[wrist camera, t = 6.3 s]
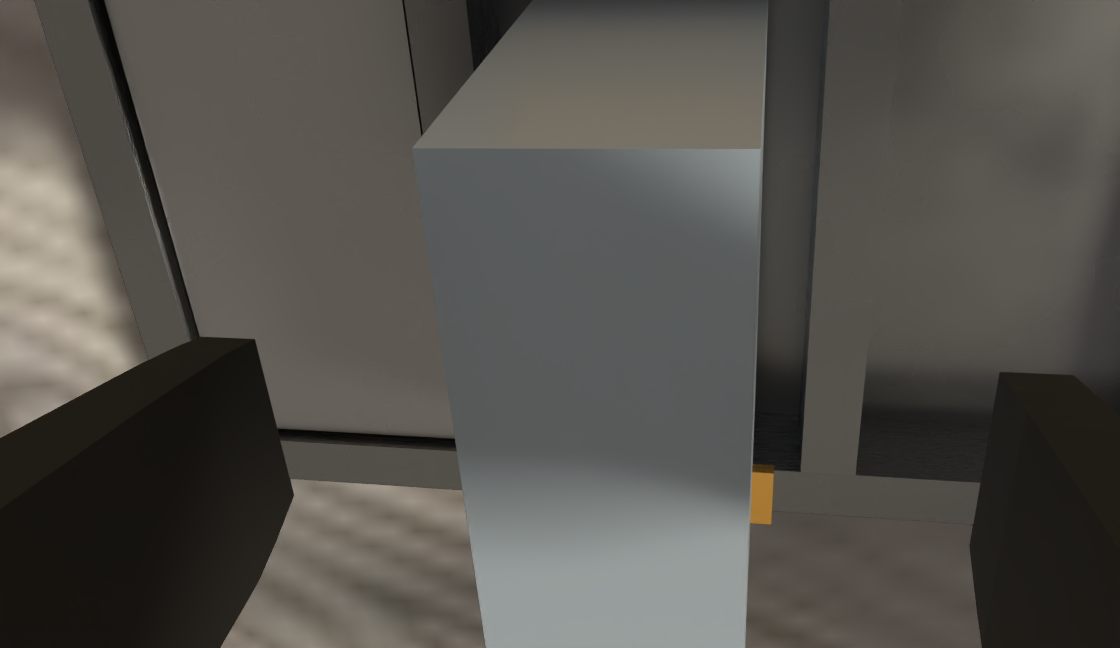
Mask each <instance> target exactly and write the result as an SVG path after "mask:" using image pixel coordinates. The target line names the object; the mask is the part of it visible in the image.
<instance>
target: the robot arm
mask: <svg viewBox="0 0 1120 648" xmlns="http://www.w3.org/2000/svg"><path fill="white" fill-rule="evenodd" d="M293 496H294V493H293V489H292V485H291V481H290V477H289V473H288V469H287V465H286V461H285V457H284V453H283V449H282V445H281V441H280V437H279V433H278V429H277V425H276V421H275V417H274V413H273V409H272V405H271V401H270V397H269V393H268V389H267V385H266V381H265V377H264V373H263V369H262V365H261V361H260V357H259V353H258V349H257V345H256V341H255V339H244V338H221V337H199V338H196V339H194V340H191V341H189V342H186V343H184V344H182V345H179V346H177V347H175V348H173V349H170V350H168V351H166V352H164V353H162V354H160V355H158V356H156V357H154V358H152V359H150V360H148V361H146V362H144V363H142V364H140V365H138V366H136V367H134V368H132V369H130V370H128V371H126V372H124V373H122V374H121V375H119V376H117V377H115V378H113V379H111V380H109V381H107V382H105V383H103V384H102V385H100V386H98V387H96V388H94V389H92V390H90V391H88V392H87V393H85V394H83V395H81V396H79V397H77V398H75V399H73V400H72V401H70V402H68V403H66V404H64V405H62V406H60V407H58V408H57V409H55V410H53V411H51V412H49V413H47V414H45V415H43V416H41V417H40V418H38V419H36V420H34V421H32V422H30V423H28V424H26V425H25V426H23V427H21V428H19V429H17V430H15V431H13V432H11V433H9V434H7V435H6V436H4V437H2V438H0V648H220V647H221V645H222V644H223V642H224V640H225V639H226V637H227V635H228V633H229V632H230V630H231V628H232V626H233V625H234V623H235V621H236V620H237V618H238V616H239V614H240V613H241V611H242V609H243V608H244V606H245V604H246V602H247V601H248V599H249V597H250V595H251V594H252V592H253V590H254V588H255V586H256V585H257V583H258V581H259V579H260V577H261V575H262V573H263V570H264V568H265V566H266V563H267V561H268V559H269V556H270V554H271V552H272V549H273V547H274V545H275V543H276V540H277V538H278V535H279V532H280V530H281V527H282V525H283V522H284V520H285V517H286V514H287V512H288V509H289V507H290V504H291V502H292V499H293ZM970 554H971V563H972V572H973V581H974V590H975V598H976V606H977V614H978V621H979V629H980V636H981V644H982V648H1120V417H1119V416H1118V415H1117V414H1116V413H1115V412H1114V411H1113V410H1112V409H1111V408H1110V407H1109V406H1108V405H1106V404H1105V403H1104V402H1103V401H1102V400H1101V399H1100V398H1099V397H1098V396H1097V395H1096V394H1095V393H1093V392H1092V391H1091V390H1090V389H1089V388H1088V387H1087V386H1086V385H1084V384H1083V383H1082V382H1081V381H1080V380H1079V379H1078V378H1076V377H1075V376H1074V375H1061V374H1038V373H1015V372H1000V373H999V379H998V384H997V390H996V396H995V402H994V408H993V413H992V419H991V425H990V431H989V436H988V442H987V448H986V454H985V460H984V465H983V471H982V477H981V483H980V488H979V494H978V500H977V506H976V512H975V517H974V523H973V529H972V535H971V540H970Z"/></svg>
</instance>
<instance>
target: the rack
mask: <svg viewBox="0 0 1120 648" xmlns="http://www.w3.org/2000/svg"><path fill="white" fill-rule="evenodd" d="M34 1H35V4H36V7H37V10H38V13H39V17H40V20H41V23H42V26H43V29H44V32H45V35H46V39H47V42H48V45H49V48H50V51H51V54H52V57H53V61H54V64H55V67H56V70H57V73H58V76H59V79H60V83H61V86H62V89H63V92H64V95H65V98H66V101H67V105H68V108H69V111H70V114H71V117H72V120H73V123H74V127H75V130H76V133H77V136H78V139H79V142H80V146H81V149H82V152H83V155H84V158H85V161H86V164H87V168H88V171H89V174H90V177H91V180H92V183H93V186H94V190H95V193H96V196H97V199H98V202H99V205H100V208H101V212H102V215H103V218H104V221H105V224H106V227H107V230H108V234H109V237H110V240H111V243H112V246H113V249H114V252H115V256H116V259H117V262H118V265H119V268H120V271H121V274H122V278H123V281H124V284H125V287H126V290H127V293H128V296H129V300H130V303H131V306H132V309H133V312H134V315H135V319H136V322H137V325H138V328H139V331H140V334H141V337H142V341H143V344H144V347H145V350H146V353H147V356H148V359H149V360H150V359H152V358H154V357H156V356H158V355H160V354H162V353H164V352H166V351H168V350H170V349H173V348H175V347H177V346H179V345H182V344H184V343H186V342H189V341H191V340H194V339H196V338H199V337H221V338H244V339H255V341H256V345H257V349H258V353H259V357H260V361H261V365H262V369H263V373H264V377H265V381H266V385H267V389H268V393H269V397H270V401H271V405H272V409H273V413H274V417H275V421H276V425H277V429H278V433H279V437H280V441H281V445H282V449H283V453H284V457H285V461H286V465H287V469H288V473H289V477H290V479H304V480H318V481H333V482H348V483H363V484H378V485H393V486H408V487H422V488H437V489H452V490H462V483H461V476H460V470H459V463H458V456H457V449H456V443H455V436H454V429H453V422H452V416H451V409H450V402H449V395H448V389H447V382H446V375H445V368H444V362H443V355H442V348H441V341H440V335H439V328H438V321H437V314H436V307H435V301H434V294H433V287H432V280H431V274H430V267H429V260H428V253H427V247H426V240H425V233H424V226H423V220H422V213H421V206H420V199H419V193H418V186H417V179H416V172H415V166H414V159H413V152H412V148H413V146H414V145H415V144H416V143H417V141H418V140H419V139H420V138H421V137H422V135H423V134H424V133H425V132H426V130H427V129H428V128H429V127H430V125H431V124H432V123H433V122H434V121H435V119H436V118H437V117H438V116H439V114H440V113H441V112H442V111H443V110H444V108H445V107H446V106H447V105H448V103H449V102H450V101H451V100H452V99H453V97H454V96H455V95H456V94H457V92H458V91H459V90H460V89H461V87H462V86H463V85H464V84H465V83H466V81H467V80H468V79H469V78H470V76H471V75H472V74H473V73H474V72H475V70H476V69H477V68H478V67H479V65H480V64H481V63H482V62H483V60H484V59H485V58H486V57H487V56H488V54H489V53H490V52H491V51H492V49H493V48H494V47H495V46H496V45H497V43H498V42H499V41H500V40H501V38H502V37H503V36H504V35H505V33H506V32H507V31H508V30H509V29H510V27H511V26H512V25H513V24H514V22H515V21H516V20H517V19H518V18H519V16H520V15H521V14H522V13H523V11H524V10H525V9H526V8H527V6H528V5H529V4H530V3H531V2H532V0H34ZM1000 372H1015V373H1038V374H1061V375H1074V376H1075V377H1076V378H1078V379H1079V380H1080V381H1081V382H1082V383H1083V384H1084V385H1086V386H1087V387H1088V388H1089V389H1090V390H1091V391H1092V392H1093V393H1095V394H1096V395H1097V396H1098V397H1099V398H1100V399H1101V400H1102V401H1103V402H1104V403H1105V404H1106V405H1108V406H1109V407H1110V408H1111V409H1112V410H1113V411H1114V412H1115V413H1116V414H1117V415H1118V416H1119V417H1120V0H768V28H767V58H766V89H765V119H764V150H763V180H762V211H761V241H760V271H759V302H758V332H757V363H756V392H755V417H754V441H753V466H752V491H751V516H750V523H756V524H771V520H772V511H779V512H794V513H809V514H824V515H839V516H853V517H868V518H883V519H898V520H913V521H928V522H943V523H957V524H972V525H973V523H974V517H975V512H976V506H977V500H978V494H979V488H980V483H981V477H982V471H983V465H984V460H985V454H986V448H987V442H988V436H989V431H990V425H991V419H992V413H993V408H994V402H995V396H996V390H997V384H998V379H999V373H1000Z"/></svg>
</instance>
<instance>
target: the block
mask: <svg viewBox="0 0 1120 648" xmlns="http://www.w3.org/2000/svg"><path fill="white" fill-rule="evenodd" d="M767 28H768V0H532V2H531V3H530V4H529V5H528V6H527V8H526V9H525V10H524V11H523V13H522V14H521V15H520V16H519V18H518V19H517V20H516V21H515V22H514V24H513V25H512V26H511V27H510V29H509V30H508V31H507V32H506V33H505V35H504V36H503V37H502V38H501V40H500V41H499V42H498V43H497V45H496V46H495V47H494V48H493V49H492V51H491V52H490V53H489V54H488V56H487V57H486V58H485V59H484V60H483V62H482V63H481V64H480V65H479V67H478V68H477V69H476V70H475V72H474V73H473V74H472V75H471V76H470V78H469V79H468V80H467V81H466V83H465V84H464V85H463V86H462V87H461V89H460V90H459V91H458V92H457V94H456V95H455V96H454V97H453V99H452V100H451V101H450V102H449V103H448V105H447V106H446V107H445V108H444V110H443V111H442V112H441V113H440V114H439V116H438V117H437V118H436V119H435V121H434V122H433V123H432V124H431V125H430V127H429V128H428V129H427V130H426V132H425V133H424V134H423V135H422V137H421V138H420V139H419V140H418V141H417V143H416V144H415V145H414V146H413V148H412V152H413V159H414V166H415V172H416V179H417V186H418V193H419V199H420V206H421V213H422V220H423V226H424V233H425V240H426V247H427V253H428V260H429V267H430V274H431V280H432V287H433V294H434V301H435V307H436V314H437V321H438V328H439V335H440V341H441V348H442V355H443V362H444V368H445V375H446V382H447V389H448V395H449V402H450V409H451V416H452V422H453V429H454V436H455V443H456V449H457V456H458V463H459V470H460V476H461V483H462V490H463V497H464V503H465V510H466V517H467V524H468V530H469V537H470V544H471V551H472V557H473V564H474V571H475V578H476V584H477V591H478V598H479V605H480V611H481V618H482V625H483V632H484V638H485V645H486V648H745V640H746V615H747V590H748V566H749V541H750V516H751V491H752V466H753V441H754V417H755V392H756V363H757V332H758V302H759V271H760V241H761V211H762V180H763V150H764V119H765V89H766V58H767Z"/></svg>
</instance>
